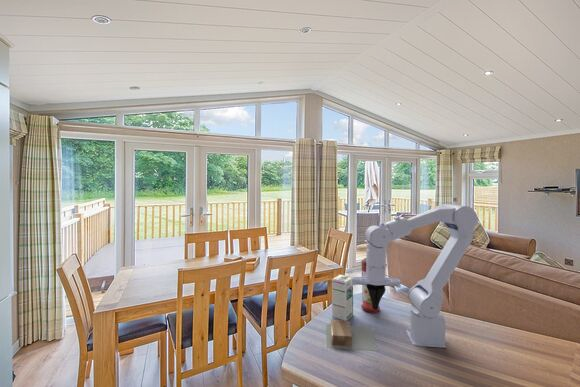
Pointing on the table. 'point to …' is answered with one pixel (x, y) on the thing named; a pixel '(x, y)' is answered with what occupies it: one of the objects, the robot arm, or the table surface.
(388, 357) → the table surface
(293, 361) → the table surface
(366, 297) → the liquor
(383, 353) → the table surface
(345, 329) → the slab
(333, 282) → the syrup box
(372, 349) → the mat
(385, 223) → the robot arm
